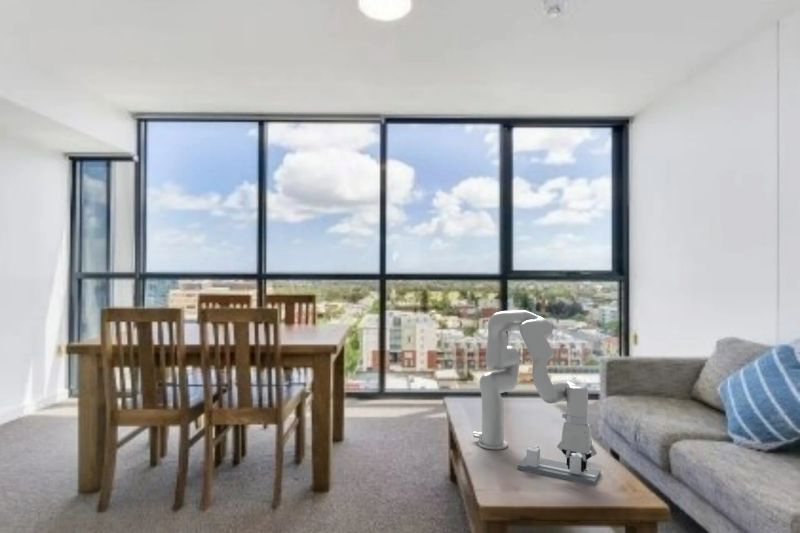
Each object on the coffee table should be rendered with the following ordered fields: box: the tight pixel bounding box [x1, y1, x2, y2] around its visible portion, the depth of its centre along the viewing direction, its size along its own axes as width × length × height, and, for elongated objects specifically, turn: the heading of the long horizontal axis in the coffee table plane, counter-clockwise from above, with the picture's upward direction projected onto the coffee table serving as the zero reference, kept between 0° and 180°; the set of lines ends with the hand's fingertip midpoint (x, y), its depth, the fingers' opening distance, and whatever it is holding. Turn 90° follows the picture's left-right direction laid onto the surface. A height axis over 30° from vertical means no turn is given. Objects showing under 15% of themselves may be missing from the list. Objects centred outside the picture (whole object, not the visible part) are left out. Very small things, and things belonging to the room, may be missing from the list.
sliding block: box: [570, 452, 583, 475], centre depth 191 cm, size 4×7×6 cm, turn 149°
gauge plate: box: [517, 444, 602, 486], centre depth 195 cm, size 28×12×8 cm, turn 59°
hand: (576, 468), depth 190 cm, fingers closed on sliding block, 4 cm apart
